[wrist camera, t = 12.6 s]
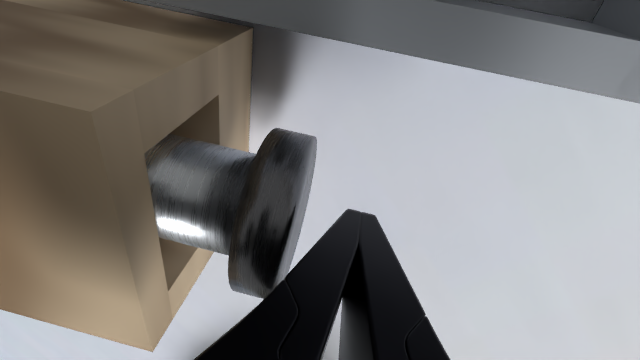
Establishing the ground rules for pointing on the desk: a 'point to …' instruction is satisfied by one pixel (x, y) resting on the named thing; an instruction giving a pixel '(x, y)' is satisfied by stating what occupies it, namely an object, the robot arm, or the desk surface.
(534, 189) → the desk surface
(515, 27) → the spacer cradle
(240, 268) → the shaft
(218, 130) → the bearing block
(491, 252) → the desk surface
